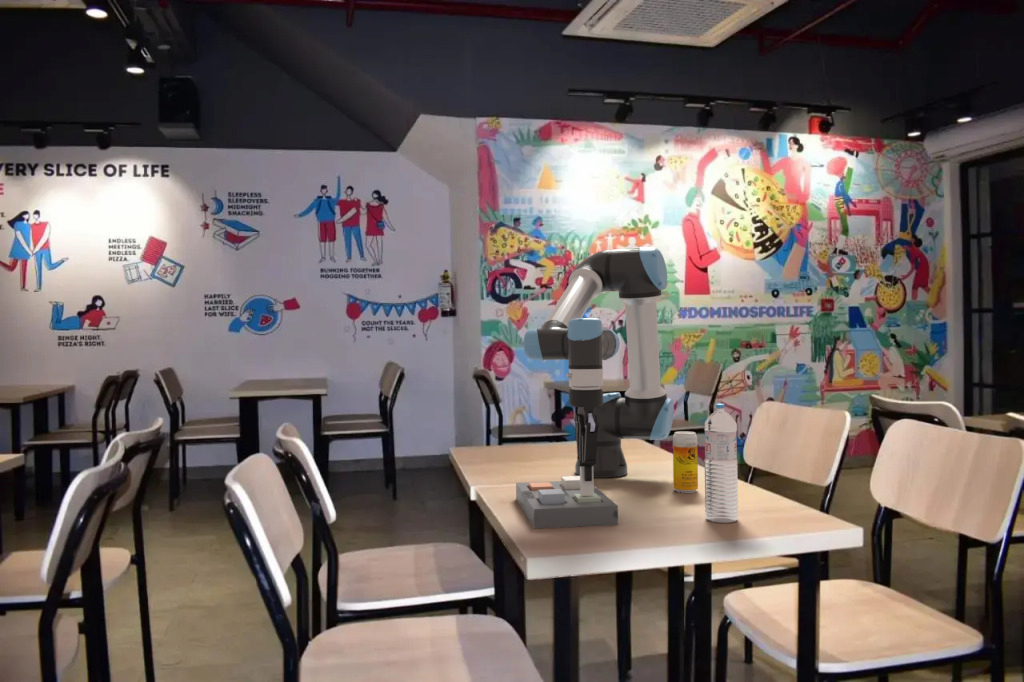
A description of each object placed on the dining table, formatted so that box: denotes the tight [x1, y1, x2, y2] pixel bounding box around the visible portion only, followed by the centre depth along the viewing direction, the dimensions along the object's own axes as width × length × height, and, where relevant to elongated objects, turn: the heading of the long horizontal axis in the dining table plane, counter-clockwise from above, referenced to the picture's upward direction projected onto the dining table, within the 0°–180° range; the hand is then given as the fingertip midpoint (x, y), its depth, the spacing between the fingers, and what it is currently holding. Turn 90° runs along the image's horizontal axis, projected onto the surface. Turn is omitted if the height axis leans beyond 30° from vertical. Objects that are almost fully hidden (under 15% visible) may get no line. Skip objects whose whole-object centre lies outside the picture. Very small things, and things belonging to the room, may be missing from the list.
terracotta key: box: [529, 481, 553, 491], centre depth 172 cm, size 5×5×3 cm
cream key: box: [560, 475, 580, 490], centre depth 173 cm, size 5×5×3 cm
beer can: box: [672, 430, 699, 494], centre depth 185 cm, size 6×6×15 cm
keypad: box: [515, 480, 619, 529], centre depth 166 cm, size 18×28×4 cm, turn 7°
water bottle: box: [703, 403, 739, 524], centre depth 156 cm, size 7×7×25 cm
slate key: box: [538, 489, 565, 505], centre depth 158 cm, size 5×5×3 cm
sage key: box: [574, 493, 601, 503], centre depth 159 cm, size 5×5×3 cm
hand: (586, 494), depth 159 cm, fingers closed
